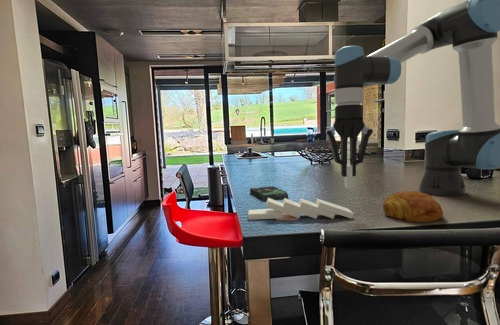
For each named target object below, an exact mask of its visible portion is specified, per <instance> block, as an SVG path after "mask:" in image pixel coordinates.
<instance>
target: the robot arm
mask: <svg viewBox="0 0 500 325" xmlns="http://www.w3.org/2000/svg"><path fill="white" fill-rule="evenodd" d="M499 32H500V0H465V1H462V2H461V3H459V4H456V5H454V6H452V7H449V8H446V9H444V10H442V11H440V12H438V13H436V14H435V15H433V16H431V17H430V18H428V19H427V20H425V21H423V22H422V23H420V24H419V25H417V26H415V27H413V28H412V29H411V30H410V32H409V33H408V34H406V35H405V36H403V37H401V38H398V39H397V40H395V41H393V42H391V43H389V44H388V45H386V46H384V47H381V48H379V49H378V50H376V51H374V52H372V53H370V54H369V55H365V52H364V48H363V47H362V46H359V45H347V46H343V47H341V48H338V49H337V50H336V52H335V56H334V57H335V58H334V66H333V67H334V75H333V83H334V104H335V105H336V106H335V107H334V123H333V124H332V127H331V128H329V129H326V130H325V135H326V137H327V138H328V139H329V144H330V148H331V151H332V155H333V159H334V162H335V163H336V164H338V165H340V169H341V170H340V172H341V173H340V175H341V177H343V178H344V188H345V189H350V190H351V189H353V177H356V175H357V166H358V165H359V164H362V163H363V162H364V159H365V155H366V151H367V147H368V144H369V139H370V138H371V135H372V134H373V132H374V130H373V129H371V128H369V127H367V126H365V122H364V106H363V105H362V104H363V102H364V88H366V87H367V88H368V87H370V86H371V87H372V86H375V85H376V86H377V85H384V86H385V85H392V84H395V83H396V82H397V81H398V80H399V79H400V77H401V74H402V63H404V62H405V61H406V62H407V61H409V60H410V59H411V58H414V57H415V56H417V55H418V54H423V55H424V54H426V53H428V52H430V51H432V50H435V49H439V48H443V47H447V46H450V45H452V49H453V50H455V52H457V53H458V65H459V81H460V98H461V99H460V101H461V116H462V118H461V119H462V126H461V127H460V128H459V129H451V130H449V129H448V130H442V131H441V130H440V131H433V132H429V133H428V134H427V135H426V136H425V142H424V172H423V174H422V178H421V179H420V182H419V185H418V192H422V193H425V194H429V195H433V196H434V195H435V196H451V197H452V196H453V197H455V196H456V197H457V196H463V195H465V194H467V193H466V189H467V188H466V184H465V181H464V179H463V176H462V172H461V170H462V168H471V169H478V170H498V169H499V168H500V124H498V123H497V122H496V115H495V113H496V112H495V91H494V90H495V89H494V87H495V86H494V67H493V51H492V50H493V44H495V42H496V41H498V38H499V37H498V33H499ZM336 133H337V135H338V136H339V138H340V153H339V148H338V144H337V141H336V136H335V135H336ZM360 134H362V135H361V140H360V143H359V144H360V145H359V148H358V147H357V142H358V136H360ZM348 139H349V140H348ZM348 141H349V164H348ZM357 149H358V152H357Z"/></svg>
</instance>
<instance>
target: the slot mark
mask: <svg viewBox="0 0 500 325" xmlns="http://www.w3.org/2000/svg"><path fill="white" fill-rule="evenodd" d="M298 219H299V218H296V217H294V216H291V215H288V214H285V213H283V218H275V220H276V221H298Z"/></svg>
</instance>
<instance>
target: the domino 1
mask: <svg viewBox="0 0 500 325" xmlns="http://www.w3.org/2000/svg"><path fill="white" fill-rule="evenodd" d="M247 217H248V220H247V221H250V220H252V221H253V220H268V219H269V220H272V219H275V220H276V218H283V213H282V212H280V211H277V210H274V209H271V208H262V209H261V208H260V209H259V208H258V209H249V210H248V214H247Z"/></svg>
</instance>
